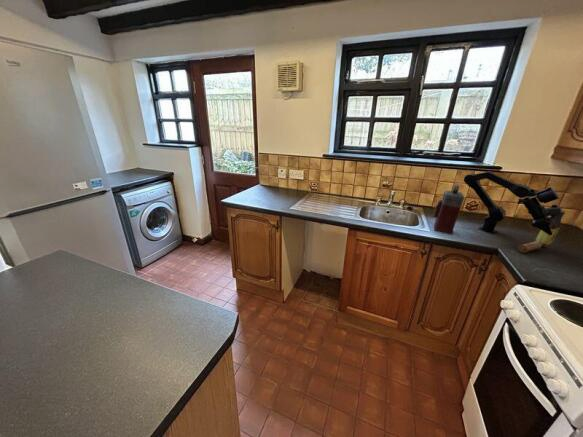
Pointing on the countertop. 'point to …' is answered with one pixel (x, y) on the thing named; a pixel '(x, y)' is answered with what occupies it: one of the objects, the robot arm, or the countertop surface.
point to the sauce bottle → (554, 226)
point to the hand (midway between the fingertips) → (552, 233)
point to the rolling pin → (529, 247)
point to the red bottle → (448, 210)
